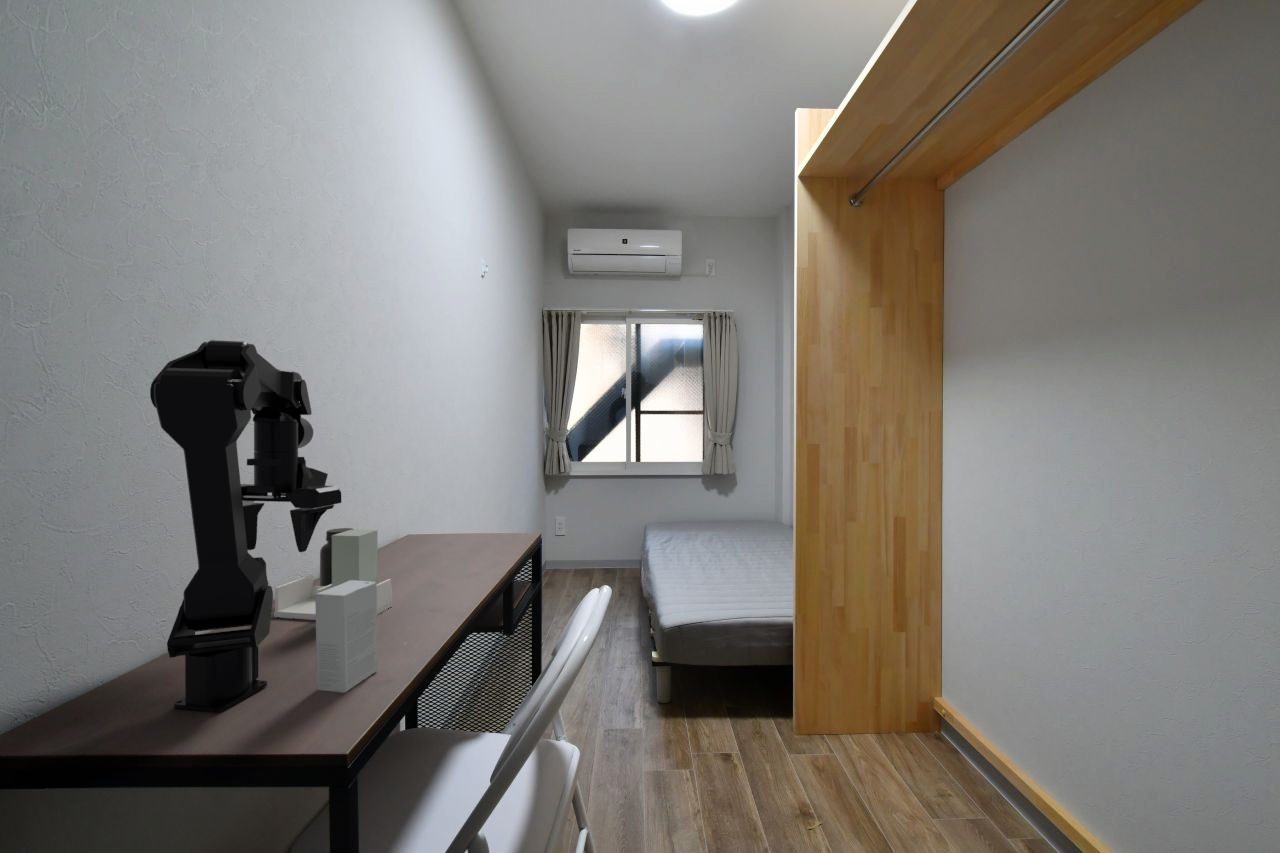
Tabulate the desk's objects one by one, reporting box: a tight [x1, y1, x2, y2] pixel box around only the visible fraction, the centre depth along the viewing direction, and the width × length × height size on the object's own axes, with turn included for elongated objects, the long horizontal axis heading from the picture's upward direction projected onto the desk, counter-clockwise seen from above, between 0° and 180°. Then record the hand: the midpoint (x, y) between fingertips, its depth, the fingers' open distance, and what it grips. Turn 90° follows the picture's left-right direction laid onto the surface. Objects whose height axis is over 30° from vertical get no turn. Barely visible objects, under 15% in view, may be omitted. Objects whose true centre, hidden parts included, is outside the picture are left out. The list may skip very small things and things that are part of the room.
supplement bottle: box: [319, 527, 355, 586], centre depth 104 cm, size 7×7×12 cm
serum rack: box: [273, 574, 393, 621], centre depth 92 cm, size 8×17×5 cm, turn 81°
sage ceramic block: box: [332, 529, 379, 587], centre depth 91 cm, size 5×5×13 cm
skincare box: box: [315, 580, 379, 694], centre depth 67 cm, size 6×4×12 cm
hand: (276, 550), depth 82 cm, fingers open, 9 cm apart
